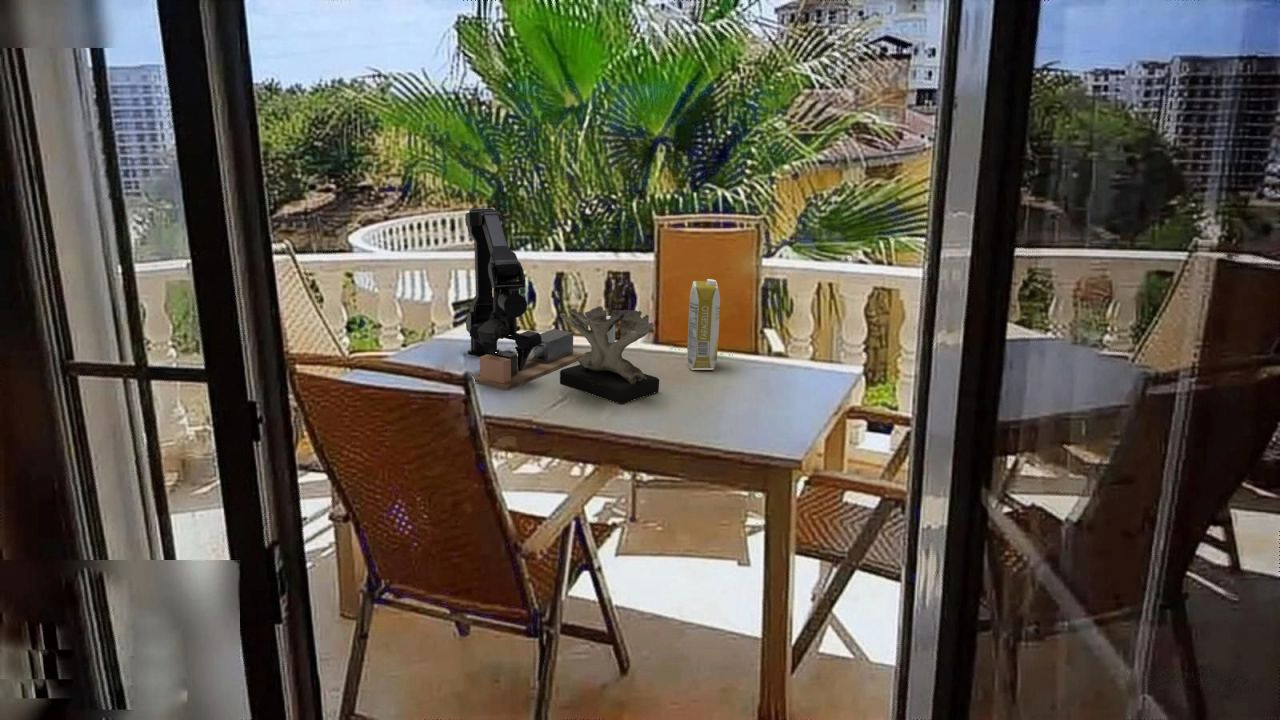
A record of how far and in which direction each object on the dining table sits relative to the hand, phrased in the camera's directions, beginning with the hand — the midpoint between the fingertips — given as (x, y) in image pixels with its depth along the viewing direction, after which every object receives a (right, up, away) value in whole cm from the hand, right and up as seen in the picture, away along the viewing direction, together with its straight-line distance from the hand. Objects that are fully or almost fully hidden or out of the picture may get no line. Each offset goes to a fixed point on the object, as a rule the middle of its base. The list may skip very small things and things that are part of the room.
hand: (505, 367), depth 259 cm
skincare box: (+24, +2, +20) cm, 31 cm away
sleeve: (+10, +2, +17) cm, 20 cm away
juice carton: (+51, 0, +16) cm, 53 cm away
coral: (+25, -6, -7) cm, 27 cm away
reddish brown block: (-2, -3, -3) cm, 5 cm away
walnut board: (+5, 0, +10) cm, 11 cm away
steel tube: (+3, 0, +6) cm, 7 cm away
